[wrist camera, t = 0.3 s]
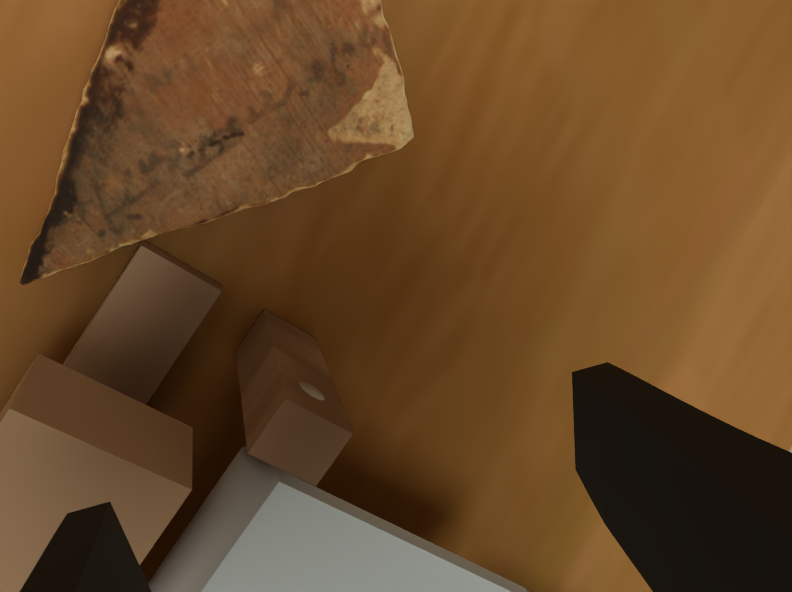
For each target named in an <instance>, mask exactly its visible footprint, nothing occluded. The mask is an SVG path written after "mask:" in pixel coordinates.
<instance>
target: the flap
mask: <svg viewBox="0 0 792 592" xmlns="http://www.w3.org/2000/svg"><path fill="white" fill-rule="evenodd" d="M192 459H193V427H191V426H189V425H187V424H184V423H182V422H180V421H178V420H176V419H174V418H172V417H170V416H168V415H166V414H164V413H162V412H160V411H157V410H155V409H153V408H151V407H149V406H147V405H145V404H143V403H141V402H139V401H137V400H135V399H133V398H130V397H128V396H126V395H124V394H122V393H120V392H118V391H116V390H114V389H112V388H110V387H108V386H106V385H103V384H101V383H99V382H97V381H95V380H93V379H91V378H89V377H87V376H85V375H83V374H81V373H79V372H76V371H74V370H72V369H70V368H68V367H66V366H64V365H62V364H60V363H58V362H56V361H54V360H52V359H49V358H47V357H45V356H43V355H41V354H39V353H38V354H37V356H36V357H35V359H34V360H33V362H32V363H31V365H30V367H29V368H28V370H27V371H26V373H25V374H24V376H23V377H22V379H21V381H20V382H19V384H18V385H17V387H16V388H15V390H14V392H13V393H12V395H11V396H10V398H9V399H8V401H7V403H6V404H5V406H4V407H3V409H2V410H1V412H0V592H20V590H21V588H22V587H23V585H24V583H25V582H26V580H27V578H28V577H29V575H30V573H31V572H32V570H33V568H34V567H35V565H36V563H37V562H38V560H39V558H40V557H41V555H42V553H43V552H44V550H45V548H46V547H47V545H48V543H49V542H50V540H51V538H52V537H53V535H54V533H55V532H56V530H57V529H58V527H59V525H60V524H61V522H62V521H63V519H64V517H65V516H66V514H67V513H70V512H74V511H78V510H81V509H85V508H88V507H92V506H96V505H99V504H103V503H106V502H111V505H112V507H113V509H114V511H115V513H116V515H117V518H118V520H119V522H120V524H121V526H122V529H123V531H124V533H125V535H126V537H127V539H128V542H129V544H130V546H131V548H132V550H133V552H134V555H135V557H136V559H137V561H138V563H139V566H140V564H141V563H142V562H143V560H144V559H145V557H146V556H147V554H148V553H149V551H150V550H151V549H152V547H153V546H154V544H155V543H156V541H157V540H158V538H159V537H160V535H161V534H162V533H163V531H164V530H165V528H166V527H167V525H168V524H169V522H170V521H171V520H172V518H173V517H174V515H175V514H176V512H177V511H178V509H179V508H180V507H181V505H182V504H183V502H184V501H185V499H186V498H187V496H188V495H189V493H190V492H191V491H192ZM148 585H149V587H150V590H151V592H527V590H526V588H525V587H523V586H520V585H518V584H516V583H514V582H512V581H510V580H508V579H506V578H504V577H502V576H500V575H498V574H496V573H493V572H491V571H489V570H487V569H485V568H483V567H481V566H479V565H477V564H475V563H473V562H471V561H469V560H466V559H464V558H462V557H460V556H458V555H456V554H454V553H452V552H450V551H448V550H446V549H444V548H442V547H439V546H437V545H435V544H433V543H431V542H429V541H427V540H425V539H423V538H421V537H419V536H417V535H415V534H412V533H410V532H408V531H406V530H404V529H402V528H400V527H398V526H396V525H394V524H392V523H390V522H388V521H385V520H383V519H381V518H379V517H377V516H375V515H373V514H371V513H369V512H367V511H365V510H363V509H361V508H358V507H356V506H354V505H352V504H350V503H348V502H346V501H344V500H342V499H340V498H338V497H336V496H334V495H331V494H329V493H327V492H325V491H323V490H321V489H319V488H317V487H315V486H313V485H311V484H309V483H307V482H304V481H302V480H300V479H298V478H296V477H294V476H292V475H290V474H288V473H286V472H284V471H282V470H281V469H279V468H277V467H275V466H273V465H271V464H269V463H266V462H264V461H262V460H260V459H258V458H256V457H254V456H252V455H250V454H248V453H247V446H244V447H242V448H241V449H240V451H239V452H238V454H237V455H236V456H235V458H234V459H233V461H232V462H231V464H230V465H229V466H228V468H227V469H226V471H225V472H224V474H223V475H222V477H221V478H220V479H219V481H218V482H217V484H216V485H215V487H214V488H213V489H212V491H211V492H210V494H209V495H208V497H207V498H206V500H205V501H204V502H203V504H202V505H201V507H200V508H199V510H198V511H197V513H196V514H195V515H194V517H193V518H192V520H191V521H190V523H189V524H188V525H187V527H186V528H185V530H184V531H183V533H182V534H181V536H180V537H179V538H178V540H177V541H176V543H175V544H174V546H173V547H172V548H171V550H170V551H169V553H168V554H167V556H166V557H165V559H164V560H163V561H162V563H161V564H160V566H159V567H158V569H157V570H156V572H155V573H154V574H153V576H152V577H151V579H150V580H149V582H148Z"/></svg>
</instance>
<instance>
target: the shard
mask: <svg viewBox="0 0 792 592" xmlns="http://www.w3.org/2000/svg"><path fill="white" fill-rule="evenodd" d="M413 138H414V133H413V129H412V120H411V116H410V113H409V110H408V108H407V99H406V96H405V91H404V77H403V73H402V69H401V66H400V63H399V60H398V57H397V54H396V50H395V46H394V42H393V39H392V35H391V32H390V29H389V26H388V24H387V23H386V21H385V19H384V16H383V12H382V3H381V0H119V1H118V4H117V6H116V8H115V9H114V12H113V15H112V18H111V21H110V24H109V27H108V30H107V34H106V38H105V41H104V44H103V46H102V49H101V51H100V53H99V56H98V58H97V61H96V63H95V64H94V66H93V68H92V71H91V74H90V77H89V79H88V82H87V85H86V86H85V87H84V89H83V94H82V102H81V104H80V105H79V107H78V109H77V111H76V115H75V118H74V121H73V124H72V127H71V130H70V133H69V136H68V138H67V141H66V144H65V146H64V149H63V152H62V159H61V165H60V168H59V172H58V175H57V178H56V187H55V193H54V196H53V198H52V200H51V203H50V206H49V210H48V213H47V215H46V217H45V219H44V221H43V224H42V228H41V231H40V232H39V234H38V235H37V236H36V237H35V238H34V239H33V241H32V242H31V244H30V246H29V251H28V255H27V258H26V261H25V264H24V266H23V270H22V274H21V279H20V283H21V284H22V285H25V284H28V283H30V282H32V281H34V280H36V279H40V278H44V277H48V276H51V275H53V274H55V273H57V272H59V271H61V270H65V269H69V268H73V267H75V266H78V265H81V264H84V263H88V262H91V261H93V260H95V259H97V258H99V257H102V256H104V255H106V254H108V253H110V252H112V251H114V250H116V249H118V248H120V247H121V246H125V245H131V244H134V243H136V242H138V241H142V240H145V239H148V238H151V237H154V236H157V235H159V234H164V233H167V232H170V231H174V230H177V229H179V228H189V227H193V226H198V225H202V224H206V223H209V222H212V221H214V220H217V219H220V218H223V217H226V216H228V215H230V214H233V213H235V212H238V211H241V210H244V209H247V208H252V207H257V206H262V205H266V204H268V203H270V202H274V201H276V200H278V199H282V198H285V197H286V196H288V195H289V194H291V193H292V192H294V191H298V190H301V189H305V188H313V187H315V186H317V185H318V184H320V183H322V182H325V181H327V180H330V179H332V178H334V177H337V176H340V175H343V174H346V173H348V172H350V171H351V170H352V169H353V168H354V167H355V166H356V165H357V164H358V163H359V162H361V161H364V160H367V159H370V158H374V157H377V156H381V155H384V154H388V153H391V152H394V151H397V150H400V149H401V148H402V147H403V146H404V145H406V144H407V143H408V142H409V141H410V140H411V139H413Z"/></svg>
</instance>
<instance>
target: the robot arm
mask: <svg viewBox="0 0 792 592" xmlns="http://www.w3.org/2000/svg"><path fill="white" fill-rule="evenodd" d="M572 385H573V411H574V438H575V464H576V471H577V473H578V475H579V477H580V479H581V481H582V482H583V484H584V486H585V488H586V490H587V492H588V494H589V496H590V498H591V500H592V501H593V503H594V505H595V507H596V509H597V510H598V512H599V514H600V516H601V518H602V519H603V521H604V523H605V525H606V526H607V527H608V529H609V530H610V532H611V533H612V535H613V536H614V538H615V539H616V540H617V542H618V543H619V545H620V546H621V547H622V549H623V550H624V552H625V553H626V554H627V556H628V557H629V559H630V560H631V561H632V563H633V564H634V566H635V567H636V568H637V570H638V571H639V573H640V574H641V575H642V577H643V578H644V580H645V581H646V582H647V584H648V585H649V586H650V588H651V589H652V591H653V592H792V453H791V452H788V451H786V450H784V449H782V448H779V447H777V446H775V445H772V444H770V443H768V442H766V441H763V440H761V439H759V438H757V437H754V436H752V435H750V434H748V433H746V432H744V431H742V430H739V429H737V428H735V427H733V426H731V425H729V424H727V423H725V422H723V421H721V420H719V419H717V418H715V417H713V416H711V415H709V414H707V413H705V412H703V411H701V410H699V409H697V408H695V407H693V406H691V405H689V404H687V403H685V402H683V401H681V400H679V399H677V398H676V397H674V396H672V395H670V394H668V393H666V392H664V391H662V390H660V389H658V388H657V387H655V386H653V385H651V384H649V383H647V382H645V381H643V380H641V379H640V378H638V377H636V376H634V375H632V374H630V373H628V372H626V371H624V370H622V369H620V368H618V367H616V366H614V365H612V364H610V363H608V362H607V363H603V364H600V365H596V366H593V367H589V368H586V369H582V370H578V371H575V372H572ZM20 592H151V590H150V587H149V585H148V583H147V581H146V579H145V576H144V574H143V572H142V570H141V568H140V566H139V563H138V561H137V559H136V557H135V555H134V552H133V550H132V548H131V546H130V544H129V542H128V539H127V537H126V535H125V533H124V531H123V529H122V526H121V524H120V522H119V520H118V518H117V515H116V513H115V511H114V509H113V507H112V505H111V502H106V503H103V504H99V505H96V506H92V507H88V508H85V509H81V510H78V511H74V512H70V513H67V514H66V516H65V517H64V519H63V521H62V522H61V524H60V525H59V527H58V529H57V530H56V532H55V533H54V535H53V537H52V538H51V540H50V542H49V543H48V545H47V547H46V548H45V550H44V552H43V553H42V555H41V557H40V558H39V560H38V562H37V563H36V565H35V567H34V568H33V570H32V572H31V573H30V575H29V577H28V578H27V580H26V582H25V583H24V585H23V587H22V588H21V590H20Z"/></svg>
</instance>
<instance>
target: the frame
mask: <svg viewBox="0 0 792 592" xmlns="http://www.w3.org/2000/svg"><path fill="white" fill-rule="evenodd" d="M221 292H222V287H221V284H219V283H218V282H216V281H214V280H212V279H211V278H209V277H207V276H205V275H204V274H202V273H200V272H198V271H197V270H195V269H193V268H192V267H190V266H188V265H186V264H185V263H183V262H181V261H179V260H178V259H176V258H174V257H172V256H171V255H169V254H167V253H165V252H164V251H162V250H160V249H158V248H157V247H155V246H153V245H151V244H150V243H148V242H146V241H144V240H142V242H141V243H140V245H139V246H138V248H137V249H136V251H135V253H134V254H133V256H132V257H131V259H130V260H129V262H128V263H127V265H126V266H125V268H124V270H123V271H122V273H121V274H120V276H119V277H118V279H117V280H116V282H115V284H114V285H113V287H112V288H111V290H110V291H109V293H108V294H107V296H106V298H105V299H104V301H103V302H102V304H101V305H100V307H99V308H98V310H97V311H96V313H95V315H94V316H93V318H92V319H91V321H90V322H89V324H88V325H87V327H86V329H85V330H84V332H83V333H82V335H81V336H80V338H79V339H78V341H77V343H76V344H75V346H74V347H73V349H72V350H71V352H70V353H69V355H68V356H67V358H66V360H65V361H64V363H63V364H62V365H64V366H66V367H68V368H70V369H72V370H74V371H76V372H79V373H81V374H83V375H85V376H87V377H89V378H91V379H93V380H95V381H97V382H99V383H101V384H103V385H106V386H108V387H110V388H112V389H114V390H116V391H118V392H120V393H122V394H124V395H126V396H128V397H130V398H133V399H135V400H137V401H139V402H141V403H143V404H145V405H146V404H147V403H148V401H149V400H150V398H151V397H152V395H153V394H154V392H155V391H156V389H157V388H158V386H159V385H160V383H161V382H162V380H163V379H164V377H165V376H166V374H167V373H168V371H169V370H170V368H171V367H172V365H173V364H174V362H175V361H176V359H177V358H178V356H179V355H180V353H181V352H182V350H183V349H184V347H185V346H186V344H187V343H188V341H189V340H190V338H191V337H192V335H193V334H194V332H195V331H196V329H197V328H198V326H199V325H200V323H201V322H202V320H203V319H204V317H205V316H206V314H207V313H208V311H209V310H210V308H211V307H212V305H213V304H214V302H215V301H216V299H217V298H218V296H219V295H220V293H221ZM236 360H237V368H238V377H239V385H240V394H241V402H242V411H243V419H244V428H245V436H246V444H247V453H248V454H250V455H252V456H254V457H256V458H258V459H260V460H262V461H264V462H266V463H269V464H271V465H273V466H275V467H277V468H279V469H281V470H283V471H285V472H287V473H289V474H291V475H293V476H296V477H298V478H300V479H302V480H304V481H306V482H308V483H310V484H312V485H314V486H317V484H318V483H319V481H320V480H321V479H322V477H323V476H324V474H325V473H326V472H327V470H328V469H329V467H330V466H331V465H332V463H333V462H334V460H335V459H336V458H337V456H338V455H339V453H340V452H341V451H342V449H343V448H344V447H345V445H346V444H347V442H348V441H349V440H350V438H351V437H352V435H353V432H352V429H351V427H350V424H349V422H348V419H347V417H346V414H345V411H344V409H343V406H342V404H341V401H340V399H339V396H338V394H337V391H336V389H335V386H334V383H333V381H332V378H331V376H330V373H329V371H328V368H327V366H326V363H325V361H324V358H323V356H322V353H321V350H320V348H319V345H318V343H317V340H316V339H315V338H314V337H312V336H310V335H308V334H307V333H305V332H303V331H302V330H300V329H298V328H296V327H295V326H293V325H291V324H289V323H288V322H286V321H284V320H282V319H281V318H279V317H277V316H275V315H274V314H272V313H270V312H268V311H267V310H265V309H264V310H263V311H262V313H261V314H260V316H259V317H258V319H257V320H256V322H255V323H254V325H253V326H252V327H251V329H250V330H249V332H248V333H247V335H246V336H245V338H244V339H243V341H242V342H241V344H240V345H239V347H238V348H237V350H236Z"/></svg>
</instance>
